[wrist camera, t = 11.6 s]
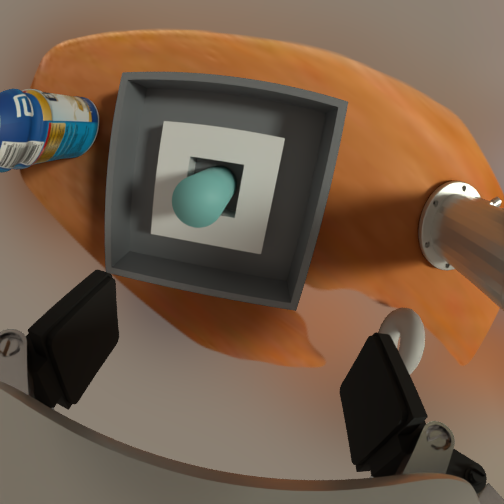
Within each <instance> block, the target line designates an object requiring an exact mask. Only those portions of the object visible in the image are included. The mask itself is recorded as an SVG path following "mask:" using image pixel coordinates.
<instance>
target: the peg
mask: <svg viewBox="0 0 504 504" xmlns="http://www.w3.org/2000/svg"><path fill="white" fill-rule="evenodd" d="M236 188H237V179H236V176H235V175H234V173H233V172H232V171H231V170H230V169H229V168H227V167H224V166H213V167H210V168H208V169H206V170H203V171H201V172H198V173H196V174H194V175H191V176H189V177H187V178H185V179H183V180H182V181H181V182H179V183H178V185H177V186H176V187H175V189H174V192H173V195H172V207H173V210H174V212H175V214H176V216H177V217H178V218H179V220H180V221H182V222H183V223H184V224H186V225H188V226H191V227H195V228H202V227H207V226H209V225H211V224H213V223H214V222H215V221H216V220H217V219H218V218H219V217H220V215H221V214H222V212H223V210H224V209H225V207H226V206H227V204H228V203H229V201H230V199H231V198H232V196H233V195H234V193H235V191H236Z"/></svg>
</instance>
